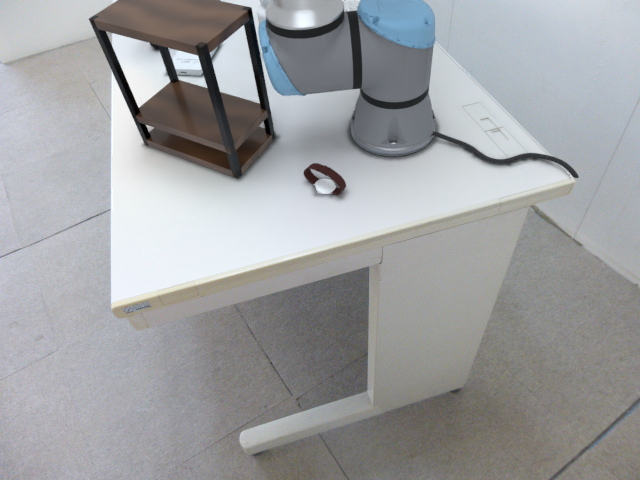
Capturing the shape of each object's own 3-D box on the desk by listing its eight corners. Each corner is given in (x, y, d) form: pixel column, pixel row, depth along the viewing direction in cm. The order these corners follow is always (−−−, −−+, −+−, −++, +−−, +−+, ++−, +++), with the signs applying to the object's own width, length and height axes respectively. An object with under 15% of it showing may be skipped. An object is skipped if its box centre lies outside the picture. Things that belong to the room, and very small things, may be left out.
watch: (314, 171, 86) (302, 187, 85) (307, 155, 82) (294, 172, 81) (351, 189, 83) (338, 206, 82) (345, 173, 79) (332, 190, 78)
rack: (184, 108, 101) (142, -16, 82) (275, 137, 93) (251, 7, 74) (144, 144, 95) (88, 18, 76) (238, 178, 87) (201, 47, 68)
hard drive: (220, 45, 116) (201, 76, 108) (187, 44, 117) (166, 74, 110) (218, 38, 114) (200, 69, 107) (185, 37, 116) (164, 67, 108)
